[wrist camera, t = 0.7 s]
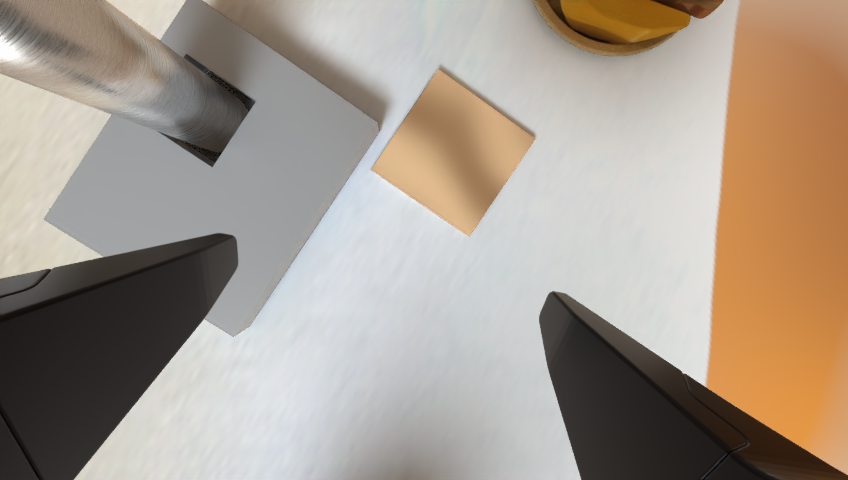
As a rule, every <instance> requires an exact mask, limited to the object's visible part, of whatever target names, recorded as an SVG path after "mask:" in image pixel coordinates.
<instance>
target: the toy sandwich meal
mask: <svg viewBox="0 0 848 480" xmlns="http://www.w3.org/2000/svg"><path fill="white" fill-rule="evenodd" d="M723 1H724V0H533V2H534V4H535V6H536V8H537V9H538V11H539V13H540V14H541V16H542V17H543V18H544V20H545V21H546V22H547V24H548V25H549V26H550V27H551V28H552V29H553V30H554V31H555V32H556V33H557V34H558V35H560V36H561V37H562V38H563V39H565V40H566V41H568V42H569V43H571V44H573V45H574V46H576V47H578V48H580V49H583V50H585V51H588V52H591V53H595V54H600V55H606V56H625V55H632V54H637V53H641V52H644V51H647V50H650V49H652V48H654V47H656V46H658V45H660V44H662V43H663V42H665V41H666V40H668V39H669V38H671V37H672V36H673V35H674V34H675V33H676V32H677V31H678V30H681V29H683V28H685V27H687V26H688V24H689V22H690V16H691V15H692V16H694V17H696V18H700V19H701V18H704V17H706V16H708V15H709V14H710V13H712V12H713V11H714V10H715V9H716V8H717V7H718V6H719V5H720V4H721V3H722V2H723Z"/></svg>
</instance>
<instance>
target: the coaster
mask: <svg viewBox="0 0 848 480" xmlns="http://www.w3.org/2000/svg"><path fill="white" fill-rule="evenodd" d="M534 140H535V138H534V137H532V136H531V135H529V134H528V133H527V132H525V131H524V130H523V129H521V128H520V127H518V126H517V125H516V124H514V123H513V122H511V121H510V120H509V119H507V118H506V117H504V116H503V115H502V114H500V113H499V112H497V111H496V110H495V109H493V108H492V107H490V106H489V105H488V104H486V103H485V102H484V101H482V100H481V99H479V98H478V97H477V96H475V95H474V94H472V93H471V92H470V91H468V90H467V89H465V88H464V87H463V86H461V85H460V84H458V83H457V82H456V81H454V80H453V79H451V78H450V77H449V76H447V75H446V74H445V73H443V72H442V71H440V70H439V69H438V70H437V71H436V73H435V74H434V76H433V77H432V79H431V80H430V82H429V83H428V85H427V86H426V88H425V89H424V91H423V92H422V94H421V95H420V97H419V98H418V100H417V101H416V103H415V104H414V106H413V107H412V109H411V110H410V112H409V113H408V115H407V116H406V118H405V119H404V121H403V122H402V124H401V125H400V127H399V128H398V130H397V131H396V133H395V134H394V136H393V137H392V139H391V140H390V142H389V143H388V145H387V146H386V148H385V149H384V151H383V152H382V154H381V155H380V157H379V158H378V160H377V161H376V163H375V164H374V166H373V167H372V169H371V170H372V171H373V172H375V173H376V174H378V175H379V176H380V177H382V178H383V179H385V180H386V181H388V182H389V183H391V184H392V185H394V186H395V187H397V188H398V189H400V190H401V191H403V192H404V193H405V194H407V195H408V196H410V197H411V198H413V199H414V200H416V201H417V202H419V203H420V204H422V205H423V206H425V207H426V208H427V209H429V210H430V211H432V212H433V213H435V214H436V215H438V216H439V217H441V218H442V219H444V220H445V221H447V222H448V223H449V224H451V225H452V226H454V227H455V228H457V229H458V230H460V231H461V232H463V233H464V234H466V235H467V236H470V235H471V233H472V232H473V230H474V229H475V227H476V226H477V224H478V223H479V221H480V220H481V218H482V217H483V215H484V214H485V212H486V211H487V209H488V208H489V207H490V205H491V204H492V202H493V201H494V199H495V198H496V196H497V195H498V193H499V192H500V190H501V189H502V187H503V186H504V184H505V183H506V181H507V180H508V178H509V177H510V176H511V174H512V173H513V171H514V170H515V168H516V167H517V165H518V164H519V162H520V161H521V159H522V158H523V156H524V155H525V153H526V152H527V150H528V149H529V147H530V146H531V144H532V143H533V142H534Z"/></svg>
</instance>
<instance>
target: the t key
mask: <svg viewBox="0 0 848 480" xmlns="http://www.w3.org/2000/svg"><path fill="white" fill-rule="evenodd" d="M0 73H1V74H3V75H6V76H9V77H12V78H14V79H17V80H20V81H22V82H25V83H28V84H31V85H33V86H36V87H39V88H41V89H44V90H47V91H50V92H52V93H55V94H58V95H60V96H63V97H66V98H69V99H71V100H74V101H77V102H79V103H82V104H85V105H88V106H90V107H93V108H96V109H98V110H101V111H104V112H106V113H109V114H112V115H115V116H117V117H120V118H123V119H125V120H128V121H131V122H134V123H136V124H139V125H142V126H144V127H147V128H150V129H153V130H155V131H158V132H161V133H163V134H166V135H169V136H172V137H174V138H177V139H180V140H182V141H185V142H188V143H191V144H193V145H196V146H199V147H201V148H204V149H207V150H210V151H213V152H223V151H224V149H225V148H226V146H227V145H228V143H229V141H230V140H231V138H232V137H233V135H234V134H235V132H236V131H237V129H238V128H239V126H240V125H241V123H242V122H243V120H244V119H245V117H246V116H247V114H248V110H247V108H246V107H245V105H244V104H243V102H242V101H241V100H240V99H239V98H237V97H236V96H235V95H233V94H232V93H231V92H229V91H228V90H227V89H225V88H224V87H222V86H221V85H220V84H218V83H217V82H216V81H214V80H213V79H212V78H210V77H209V76H208V75H206V74H205V73H203V72H202V71H201V70H199V69H198V68H197V67H195V66H194V65H193V64H191V63H190V62H189V61H187V60H186V59H185V58H183V57H182V56H180V55H179V54H178V53H176V52H175V51H174V50H172V49H171V48H170V47H168V46H167V45H166V44H164V43H163V42H161V41H160V40H159V39H157V38H156V37H155V36H153V35H152V34H151V33H149V32H148V31H147V30H145V29H144V28H143V27H141V26H140V25H138V24H137V23H136V22H134V21H133V20H132V19H130V18H129V17H128V16H126V15H125V14H124V13H122V12H121V11H119V10H118V9H117V8H115V7H114V6H113V5H111V4H110V3H109V2H107V1H106V0H0Z"/></svg>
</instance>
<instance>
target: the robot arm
mask: <svg viewBox="0 0 848 480" xmlns="http://www.w3.org/2000/svg"><path fill="white" fill-rule="evenodd" d="M237 267H238V247H237V239H236V237H235V236H233V235H230V234H224V233H215V234H211V235H206V236H201V237H196V238H192V239H187V240H182V241H178V242H173V243H168V244H163V245H159V246H154V247H149V248H145V249H140V250H135V251H130V252H126V253H121V254H116V255H112V256H107V257H102V258H98V259H93V260H88V261H83V262H79V263H74V264H69V265H65V266H60V267H55V268H53V269H52V270H51V269H45V270H41V271H36V272H31V273H27V274H22V275H17V276H12V277H7V278H2V279H0V480H74V479H75V477H76V476H77V475H78V474H79V472H80V471H81V470H82V469H83V468H84V466H85V465H86V464H87V463H88V461H89V460H90V459H91V458H92V456H93V455H94V454H95V453H96V452H97V450H98V449H99V448H100V447H101V445H102V444H103V443H104V442H105V440H106V439H107V438H108V437H109V435H110V434H111V433H112V432H113V431H114V429H115V428H116V427H117V426H118V424H119V423H120V422H121V421H122V419H123V418H124V417H125V416H126V415H127V413H128V412H129V411H130V410H131V408H132V407H133V406H134V405H135V403H136V402H137V401H138V400H139V398H140V397H141V396H142V395H143V394H144V392H145V391H146V390H147V389H148V387H149V386H150V385H151V384H152V382H153V381H154V380H155V379H156V378H157V376H158V375H159V374H160V373H161V371H162V370H163V369H164V368H165V366H166V365H167V364H168V363H169V361H170V360H171V359H172V358H173V357H174V355H175V354H176V353H177V352H178V350H179V349H180V348H181V347H182V345H183V344H184V343H185V342H186V341H187V339H188V338H189V337H190V336H191V334H192V333H193V332H194V331H195V329H196V328H197V327H198V326H199V324H200V323H201V322H202V321H203V319H204V318H205V317H206V316H207V314H208V313H209V312H210V310H211V309H212V307H213V306H214V304H215V303H216V301H217V299H218V298H219V296H220V295H221V293H222V292H223V290H224V289H225V287H226V285H227V284H228V282H229V281H230V279H231V278H232V276H233V274H234V273H235V271H236V270H237ZM539 323H540V328H541V334H542V339H543V345H544V350H545V356H546V361H547V366H548V370H549V373H550V377H551V380H552V383H553V387H554V390H555V393H556V397H557V400H558V403H559V407H560V410H561V413H562V417H563V420H564V423H565V427H566V430H567V433H568V437H569V440H570V443H571V447H572V450H573V453H574V456H575V460H576V463H577V466H578V470H579V473H580V476H581V480H848V475H846V474H844V473H843V472H841V471H839V470H838V469H835V468H834V467H832V466H830V465H829V464H827V463H826V462H824V461H822V460H821V459H819V458H818V457H816V456H815V455H813V454H811V453H810V452H808V451H806V450H805V449H803V448H801V447H800V446H798V445H797V444H795V443H793V442H792V441H790V440H789V439H787V438H785V437H783V436H782V435H780V434H779V433H777V432H776V431H774V430H772V429H770V428H769V427H767V426H766V425H764V424H762V423H761V422H759V421H758V420H756V419H755V418H753V417H751V416H750V415H748V414H747V413H745V412H743V411H742V410H740V409H738V408H737V407H735V406H734V405H732V404H731V403H729V402H728V401H726V400H724V399H723V398H721V397H720V396H718V395H717V394H715V393H714V392H712V391H710V390H709V389H708V388H706V387H705V386H703V385H701V384H700V383H698V382H697V381H695V380H694V379H693V378H691V377H690V376H688V375H687V374H683V373H682V371H680V370H679V369H677V368H676V367H674V366H673V365H671V364H670V363H669V362H667V361H666V360H664V359H663V358H661V357H660V356H658V355H657V354H655V353H654V352H652V351H651V350H649V349H648V348H646V347H645V346H643V345H642V344H640V343H639V342H637V341H636V340H634V339H633V338H631V337H630V336H628V335H627V334H625V333H624V332H622V331H621V330H619V329H618V328H616V327H615V326H613V325H612V324H610V323H609V322H607V321H606V320H604V319H603V318H601V317H600V316H598V315H597V314H595V313H594V312H592V311H591V310H589V309H588V308H586V307H585V306H583V305H582V304H580V303H579V302H577V301H576V300H574V299H573V298H571V297H570V296H568V295H567V294H565V293H560V292H555V291H552V292H550V293H549V294H548V296H547V298H546V301H545V303H544V305H543V308H542V310H541V312H540V316H539Z"/></svg>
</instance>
